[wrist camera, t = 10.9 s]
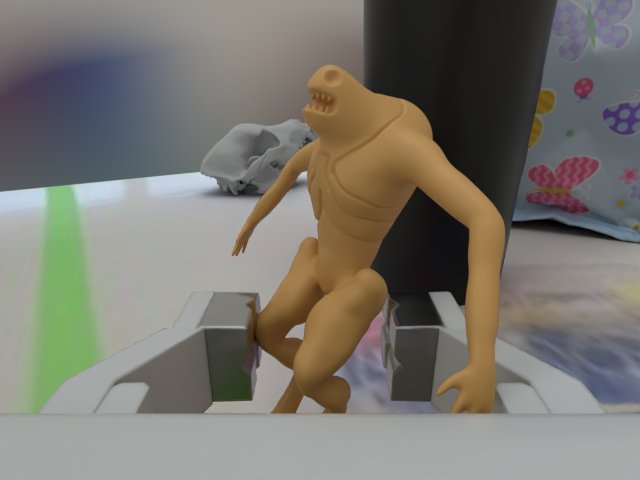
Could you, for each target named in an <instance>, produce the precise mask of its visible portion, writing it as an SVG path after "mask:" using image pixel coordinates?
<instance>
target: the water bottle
mask: <svg viewBox="0 0 640 480" xmlns="http://www.w3.org/2000/svg"><path fill="white" fill-rule="evenodd" d="M557 1H558V0H364V52H363V53H364V54H363V86H364V87H365V88H366V89H368V90H370V91H371V92H373V93H376V94H382V95H386V96H390V97H395V98H399V99H403V100H406V101H409V102H411V103H412V104H414V105H415V106H417V107H418V108H419V109H420V110H421V111H422V112H423V113H424V115H425V116H426V117H427V119H428V121H429V123H430V126H431V129H432V136H433V141H434V142H435V143H436V144H437V145H438V146H439V147H440V148H441V150H442V151H443V153H444V155H445V157H446V158H447V160H448V161H449V163H450V164H451V165H452V166H453V167H454V168H455V169H457V170H458V171H459V172H461V173H462V174H463V175H464V176H466V177H467V178H468V179H469V180H470V181H471V182H472V183H473V184H474V185H475V186H476V187H477V188H478V189H479V190H480V191H481V192H482V193H483V194H484V195H485V196H486V197H487V198H488V199H489V200H490V201H491V202H492V203H493V205H494V206H495V207H496V209H497V210H498V212H499V213H500V215H501V217H502V219H503V221H504V226H505V246H504V252H503V257H502V263H501V269H500V278H501V273H502V268H503V263H504V258H505V254H506V249H507V244H508V239H509V234H510V229H511V224H512V220H513V215H514V210H515V205H516V200H517V195H518V190H519V186H520V181H521V176H522V174H523V170H524V166H525V161H526V157H527V153H526V152H528V147H529V145H528V143H529V142H530V140H529V138H530V137H531V136H530V133H531V132H532V131H531V130H532V127H533V125H532V124H533V123H534V120H533V119H534V118H535V115H534V114H535V113H536V108H537V103H538V101H537V98H538V99H539V94H540V90H539V89H541V83H542V78H543V69H544V64H545V59H546V54H547V50H548V45H549V40H550V35H551V30H552V25H553V20H554V16H555V11H556V6H557ZM538 93H539V94H538ZM468 249H469V228H468V227H466V226H465V225H464V224H462V223H461V222H459V221H458V220H457V219H455V218H454V217H453V216H451V215H450V214H449V213H448V212H447V211H445V210H444V209H443V208H442V207H441V206H440V205H438V204H437V203H436V202H435V201H434V200H433V199H431V198H430V197H429V196H428V195H427V194H426V193H425V192H423V191H422V190H421V189H420V188H419V187H418V186H417V187H416V189H415V190H414V192H413V194H412V195H411V197H410V198H409V200H408V202H407V203H406V205H405V206H404V208H403V209H402V211H401V212H400V214H399V215H398V217H397V218H396V220H395V221H394V223H393V225H392V227H391V228H390V230H389V231H388V233H387V234H386V236H385V237H384V238H383V240H382V243H381V245H380V248H379V250H378V252H377V255H376V257H375V259H374V260H373V262H372V264H371V266H370V269H372V270H374V271H376V272H377V273H378V274H379V275H380V276H381V277H382V278H383V279H384V281H385V283H386V286H387V291H388V293H400V292H446V291H448V292H450V293H451V294H452V296H453V297H454V299H455V301H456V302H457V304H458V305H462V304H465V302H466V292H467V285H468V278H469V263H468Z"/></svg>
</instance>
